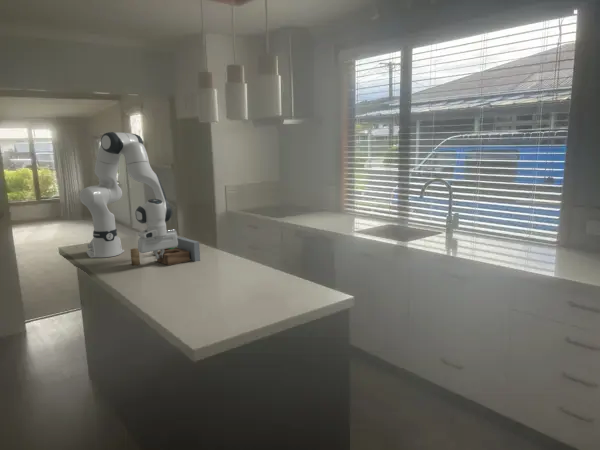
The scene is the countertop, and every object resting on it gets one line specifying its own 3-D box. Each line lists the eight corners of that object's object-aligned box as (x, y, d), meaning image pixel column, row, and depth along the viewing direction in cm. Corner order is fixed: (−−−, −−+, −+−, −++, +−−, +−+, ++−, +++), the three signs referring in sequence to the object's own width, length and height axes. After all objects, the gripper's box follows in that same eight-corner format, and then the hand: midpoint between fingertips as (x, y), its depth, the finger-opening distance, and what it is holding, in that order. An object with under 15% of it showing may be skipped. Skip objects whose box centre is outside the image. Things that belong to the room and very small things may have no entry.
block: (157, 261, 228) (156, 251, 227) (178, 256, 236) (177, 247, 235) (168, 265, 220) (167, 255, 219) (189, 260, 228) (189, 251, 227)
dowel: (130, 264, 223) (129, 249, 222) (138, 263, 226) (136, 247, 225) (133, 266, 220) (132, 250, 219) (141, 264, 223) (140, 249, 222)
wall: (177, 255, 239) (176, 237, 238) (182, 254, 241) (181, 237, 240) (195, 261, 227) (194, 242, 225) (200, 260, 229) (199, 241, 227)
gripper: (173, 227, 229) (175, 253, 231) (135, 233, 215) (137, 261, 218) (179, 229, 224) (181, 255, 227) (140, 235, 211) (143, 263, 213)
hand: (159, 258), depth 222 cm, fingers closed
